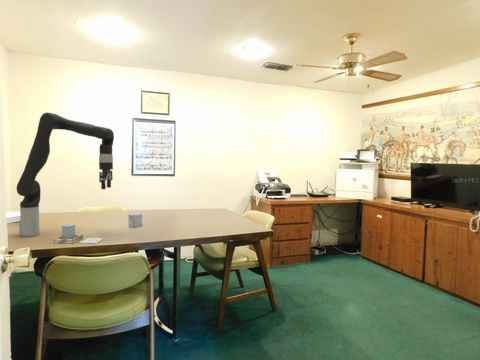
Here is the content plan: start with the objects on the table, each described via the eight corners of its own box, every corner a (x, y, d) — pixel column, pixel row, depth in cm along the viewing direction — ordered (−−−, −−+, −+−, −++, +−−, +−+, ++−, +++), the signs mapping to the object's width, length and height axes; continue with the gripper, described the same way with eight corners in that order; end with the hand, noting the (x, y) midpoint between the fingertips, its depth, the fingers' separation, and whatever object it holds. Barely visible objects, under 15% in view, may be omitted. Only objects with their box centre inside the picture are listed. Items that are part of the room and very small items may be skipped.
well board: (53, 243, 167) (53, 239, 167) (64, 237, 178) (63, 234, 178) (73, 243, 168) (73, 239, 168) (83, 238, 179) (83, 234, 179)
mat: (79, 243, 168) (79, 242, 168) (87, 238, 178) (87, 237, 178) (96, 243, 169) (96, 242, 169) (103, 238, 179) (103, 238, 179)
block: (62, 241, 172) (62, 225, 171) (68, 239, 176) (68, 224, 175) (68, 242, 170) (68, 226, 169) (75, 240, 175) (74, 224, 174)
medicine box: (138, 225, 215) (138, 213, 214) (142, 226, 212) (142, 213, 211) (128, 226, 209) (128, 214, 208) (131, 228, 206) (131, 215, 205)
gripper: (104, 161, 188) (104, 187, 189) (94, 161, 174) (94, 189, 175) (116, 161, 188) (116, 187, 190) (107, 162, 174) (108, 190, 176)
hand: (106, 188), depth 183 cm, fingers open, 8 cm apart
